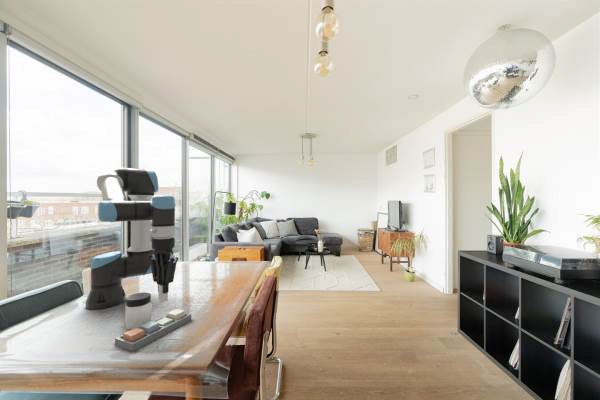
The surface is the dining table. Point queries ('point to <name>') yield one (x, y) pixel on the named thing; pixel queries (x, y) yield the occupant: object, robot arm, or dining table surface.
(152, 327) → the key slate
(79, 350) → the dining table surface
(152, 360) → the dining table surface
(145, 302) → the jar
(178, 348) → the dining table surface
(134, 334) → the key terracotta
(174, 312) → the key cream
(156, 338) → the grey compartment tray
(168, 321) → the key sage
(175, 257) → the robot arm
